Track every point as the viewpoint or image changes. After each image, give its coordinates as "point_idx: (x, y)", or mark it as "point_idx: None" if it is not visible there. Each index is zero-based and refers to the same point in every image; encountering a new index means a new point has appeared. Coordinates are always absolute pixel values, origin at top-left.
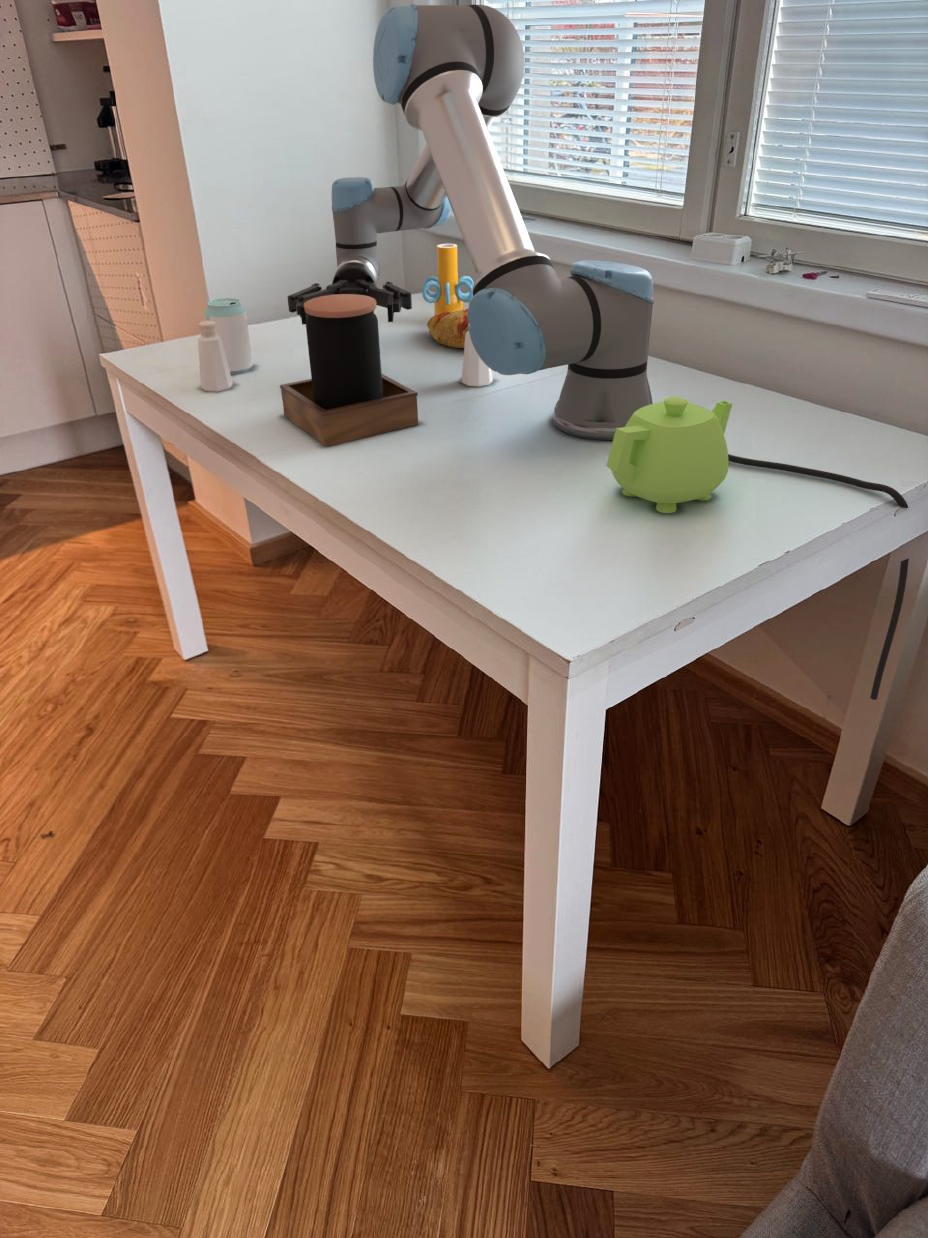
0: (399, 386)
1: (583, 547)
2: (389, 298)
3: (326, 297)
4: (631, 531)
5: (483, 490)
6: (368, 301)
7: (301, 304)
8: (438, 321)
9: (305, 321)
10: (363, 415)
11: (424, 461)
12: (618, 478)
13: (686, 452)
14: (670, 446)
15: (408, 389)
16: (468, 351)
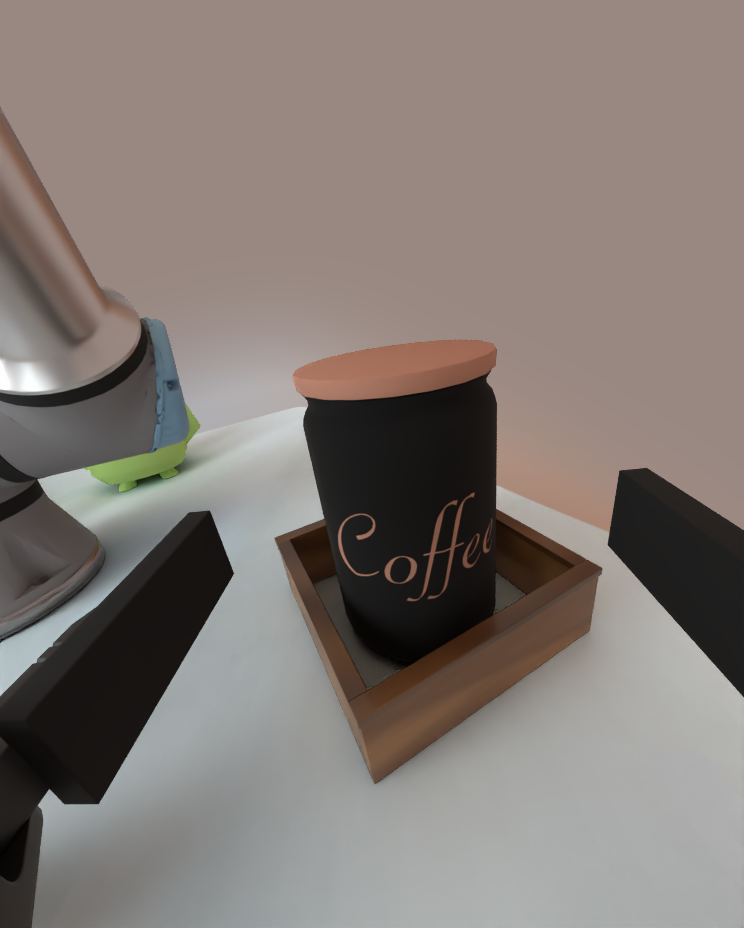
0: (299, 561)
1: (252, 438)
2: (119, 603)
3: (441, 359)
4: (213, 448)
5: (279, 469)
6: (315, 366)
7: (686, 496)
8: None
9: (613, 532)
10: None
11: (314, 500)
12: (186, 449)
13: None
14: None
15: (286, 548)
16: None
